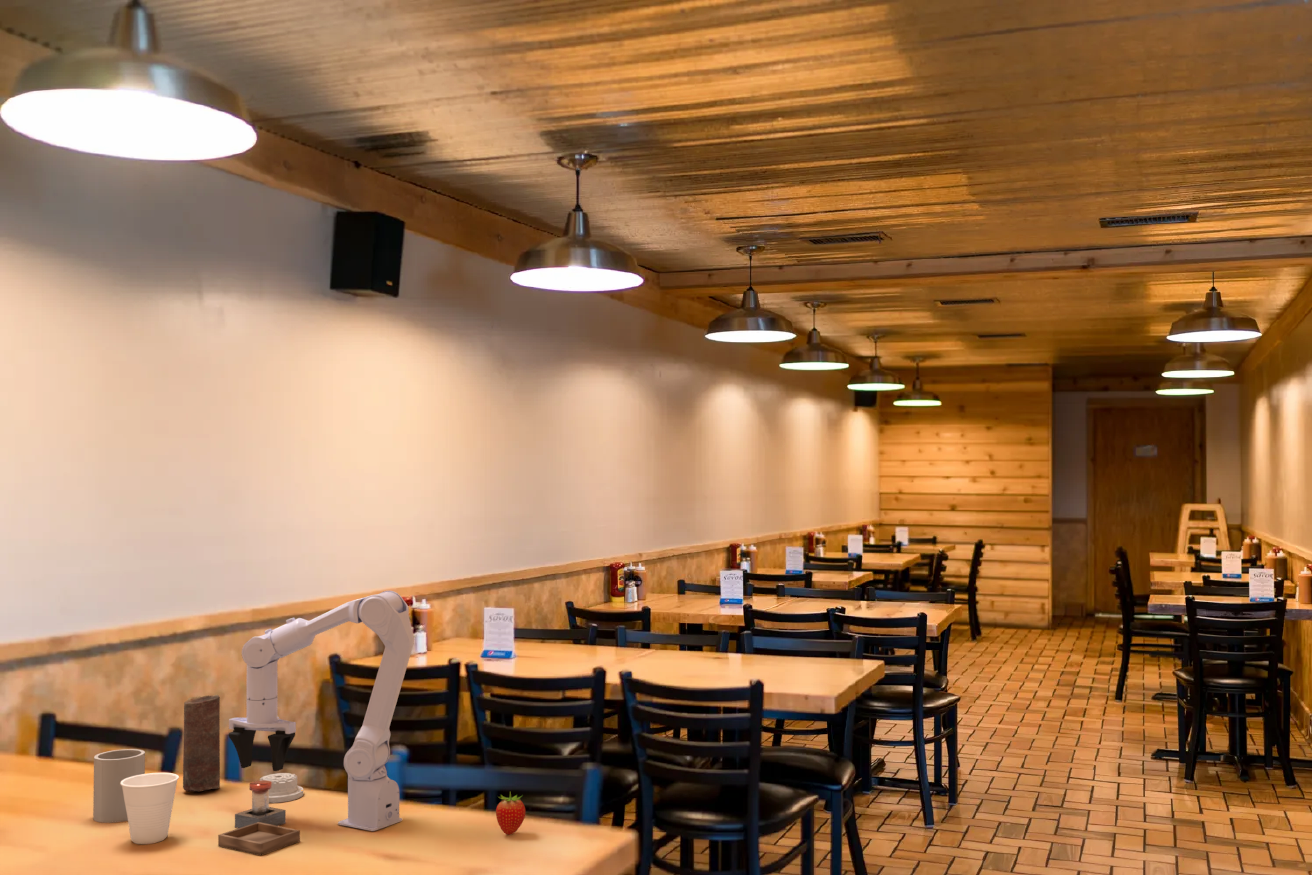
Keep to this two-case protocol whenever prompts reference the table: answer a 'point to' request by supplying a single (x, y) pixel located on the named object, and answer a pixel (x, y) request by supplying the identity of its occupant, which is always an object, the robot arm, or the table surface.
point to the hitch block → (261, 817)
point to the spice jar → (260, 797)
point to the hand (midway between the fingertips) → (262, 768)
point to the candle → (201, 743)
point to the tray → (259, 838)
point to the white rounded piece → (283, 787)
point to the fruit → (510, 814)
